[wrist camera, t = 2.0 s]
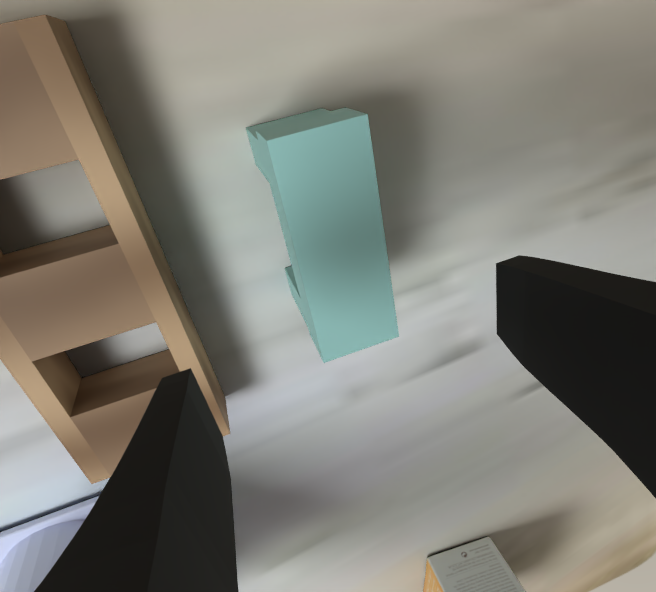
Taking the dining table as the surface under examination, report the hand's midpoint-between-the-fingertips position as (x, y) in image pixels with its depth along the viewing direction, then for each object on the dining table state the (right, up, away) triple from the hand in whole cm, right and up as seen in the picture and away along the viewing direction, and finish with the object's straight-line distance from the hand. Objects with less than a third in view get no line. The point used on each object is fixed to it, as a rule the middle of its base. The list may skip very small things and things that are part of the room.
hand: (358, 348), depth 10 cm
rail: (-10, +2, +7) cm, 13 cm away
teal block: (-2, +5, +9) cm, 10 cm away
